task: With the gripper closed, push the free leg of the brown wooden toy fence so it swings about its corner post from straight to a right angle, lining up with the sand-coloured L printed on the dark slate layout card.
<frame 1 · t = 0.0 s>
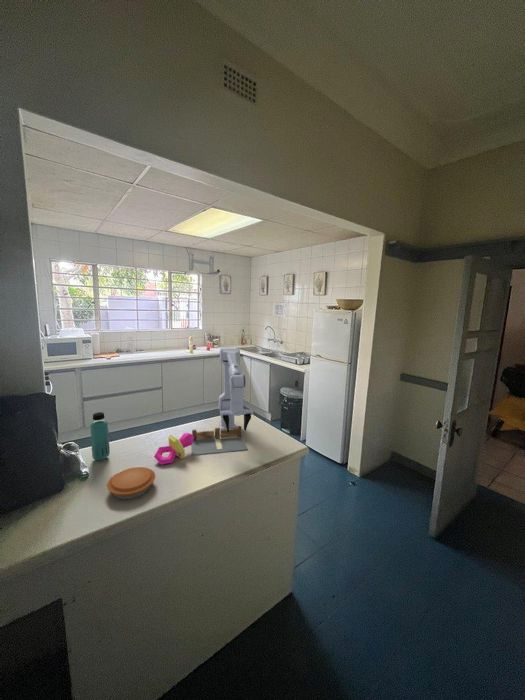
hand: (236, 430, 125), 10 cm above the countertop, fingers open, 7 cm apart
layout card: (218, 443, 133), on the countertop
fence hinged: (203, 434, 136), point 3 cm above the countertop, hinge at -90.0°
beverage bottle: (101, 459, 117), on the countertop
fence fixed: (217, 438, 138), resting on layout card
toy: (175, 457, 120), on the countertop
pie: (132, 489, 99), on the countertop
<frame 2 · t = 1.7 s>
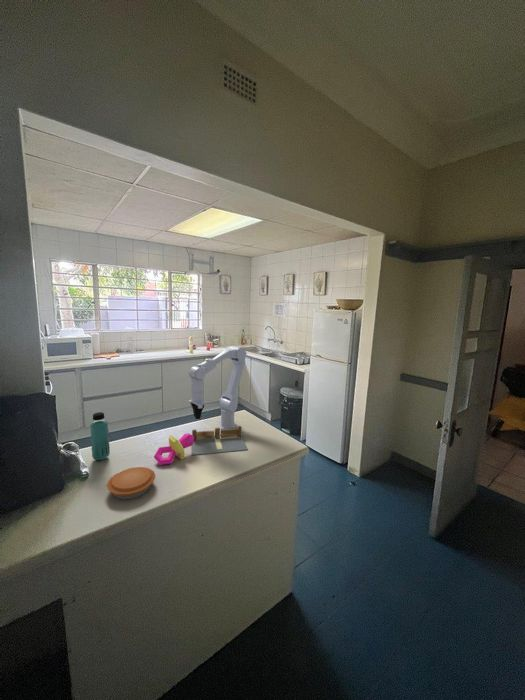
hand: (197, 417, 138), 10 cm above the countertop, fingers closed
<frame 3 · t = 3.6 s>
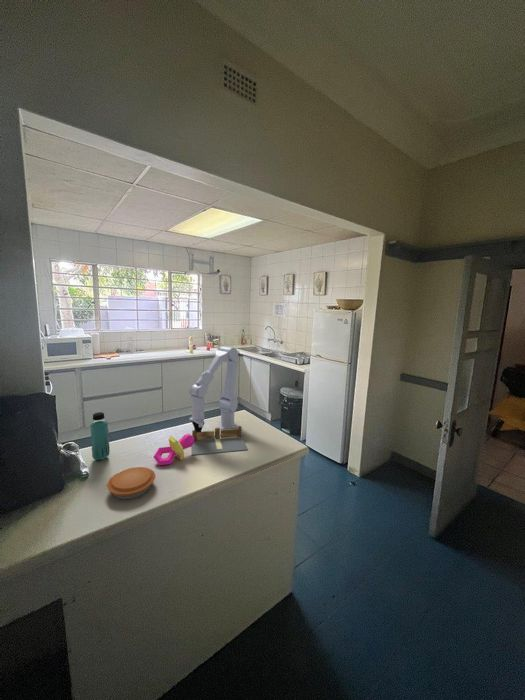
hand: (198, 435, 137), 2 cm above the countertop, fingers closed
fence hinged: (203, 434, 135), point 3 cm above the countertop, hinge at -87.0°, touching gripper
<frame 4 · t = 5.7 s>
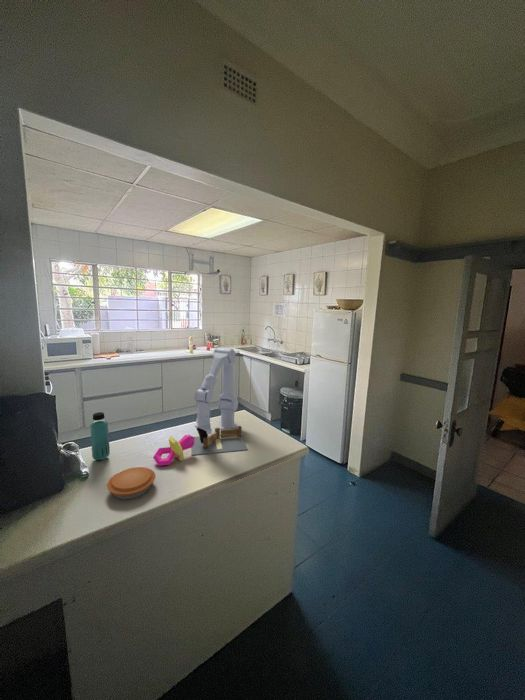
hand: (203, 442, 130), 2 cm above the countertop, fingers closed
fence hinged: (210, 438, 131), point 3 cm above the countertop, hinge at -34.7°, touching gripper
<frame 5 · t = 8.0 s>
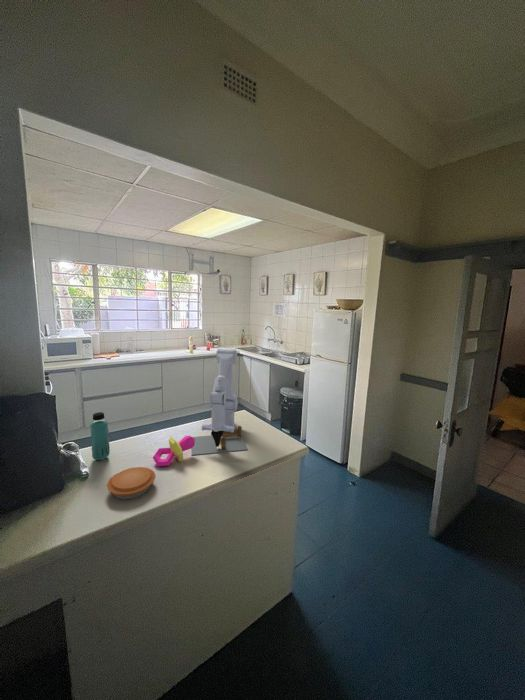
hand: (217, 445, 128), 2 cm above the countertop, fingers closed
fence hinged: (221, 439, 131), point 3 cm above the countertop, hinge at 9.0°, touching gripper
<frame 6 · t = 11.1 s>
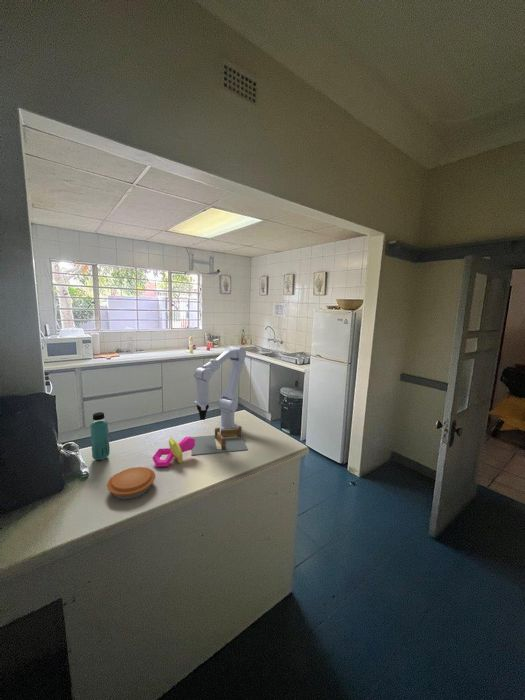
hand: (202, 419, 136), 10 cm above the countertop, fingers closed
fence hinged: (221, 439, 131), point 3 cm above the countertop, hinge at 9.1°
at the end: fence hinged at +9° (first picture: -90°) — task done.
